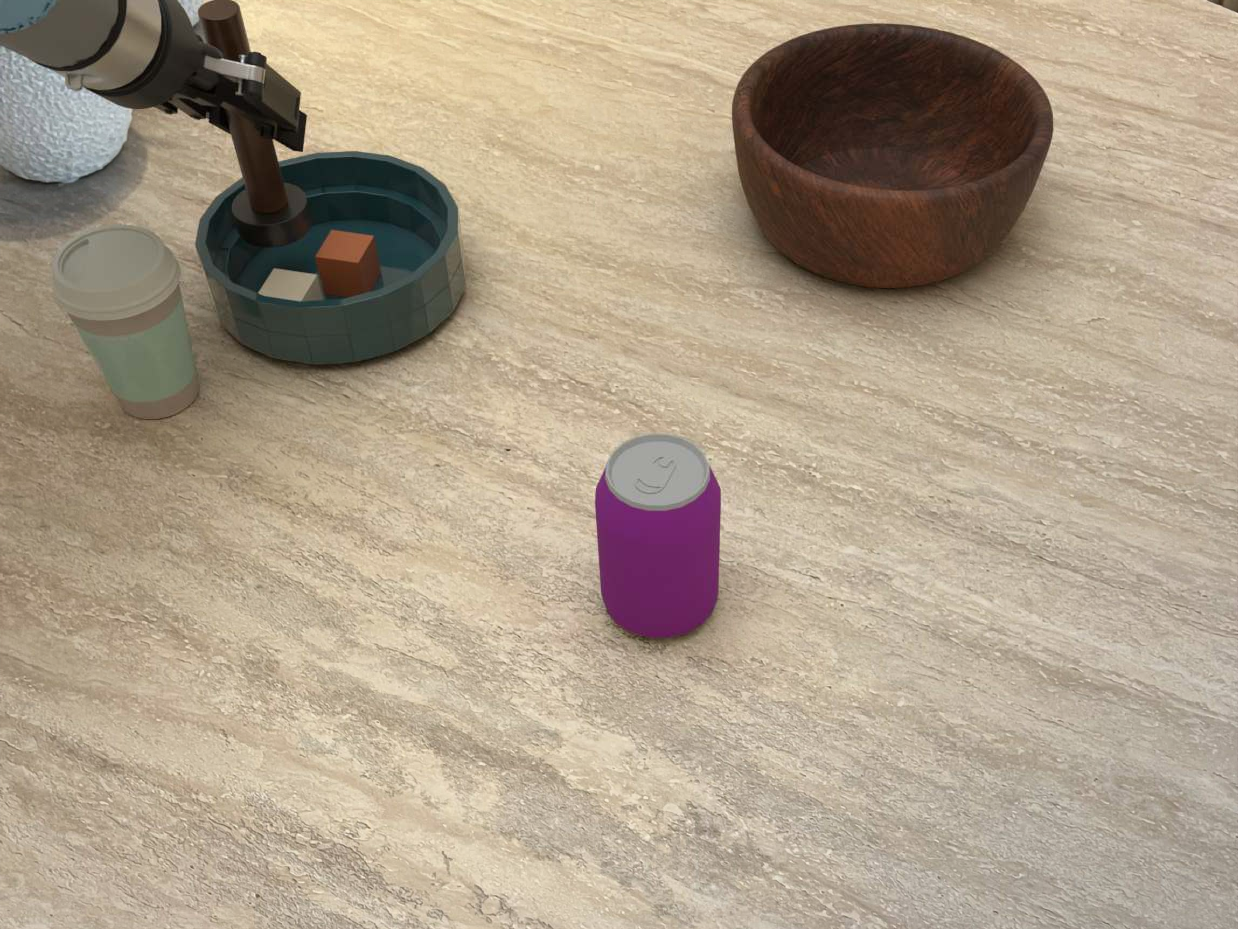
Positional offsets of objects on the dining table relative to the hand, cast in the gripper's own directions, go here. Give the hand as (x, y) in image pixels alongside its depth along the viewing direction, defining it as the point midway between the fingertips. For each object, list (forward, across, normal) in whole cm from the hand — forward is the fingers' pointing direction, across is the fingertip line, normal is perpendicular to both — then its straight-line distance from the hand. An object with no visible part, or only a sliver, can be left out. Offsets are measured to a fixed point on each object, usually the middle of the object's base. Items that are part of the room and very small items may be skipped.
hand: (277, 129), depth 110 cm
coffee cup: (-5, -4, -21) cm, 22 cm away
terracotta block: (+5, +5, -10) cm, 12 cm away
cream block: (+1, +3, -14) cm, 14 cm away
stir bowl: (+5, +4, -10) cm, 12 cm away
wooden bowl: (+19, +44, +3) cm, 48 cm away
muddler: (+1, 0, -7) cm, 7 cm away
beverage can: (-13, +36, -29) cm, 48 cm away
